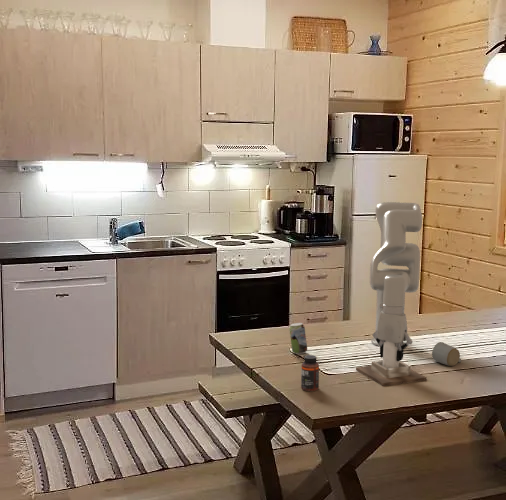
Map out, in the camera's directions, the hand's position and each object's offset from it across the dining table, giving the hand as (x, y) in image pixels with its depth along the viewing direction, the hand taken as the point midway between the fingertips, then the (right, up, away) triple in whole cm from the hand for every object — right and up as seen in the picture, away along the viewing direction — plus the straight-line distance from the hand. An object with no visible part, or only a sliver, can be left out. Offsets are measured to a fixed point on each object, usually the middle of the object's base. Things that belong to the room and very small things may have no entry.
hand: (391, 358), depth 250 cm
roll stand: (0, -6, +1) cm, 6 cm away
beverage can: (-32, -2, +25) cm, 41 cm away
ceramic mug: (+25, -5, +16) cm, 30 cm away
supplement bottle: (-30, -8, -15) cm, 35 cm away
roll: (0, -3, 0) cm, 3 cm away
